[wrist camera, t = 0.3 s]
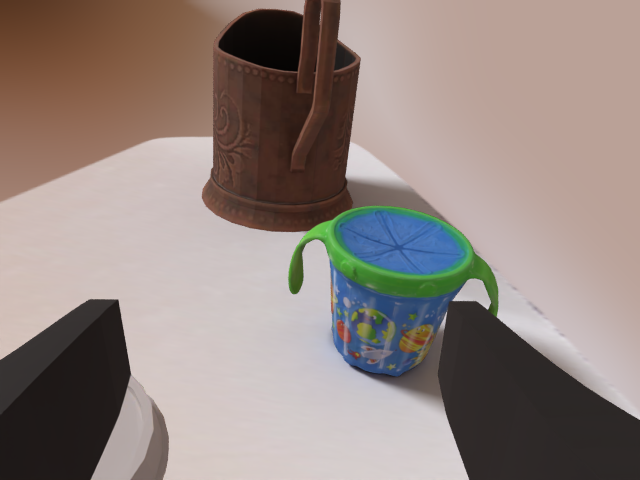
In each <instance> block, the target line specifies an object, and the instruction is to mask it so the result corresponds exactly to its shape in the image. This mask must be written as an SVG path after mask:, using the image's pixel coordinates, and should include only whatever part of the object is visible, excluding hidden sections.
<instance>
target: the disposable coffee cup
mask: <svg viewBox="0 0 640 480" xmlns="http://www.w3.org/2000/svg"><path fill="white" fill-rule="evenodd" d="M168 451H169V436H168V432H167V428H166V424H165V420H164V417H163V415H162V413H161V412H160V410H159V409H158V407H157V405H156V404H155V402H154V400H153V399H152V398H150V397H149V396H148V395H147V394H146V392H145V390H144V388H143V386H142V385H141V384H140V383H139V382H138V381H137V380H136V379H135V378H134V377H133V376H132V375H131V376H130V380H129V384H128V387H127V391H126V395H125V398H124V401H123V405H122V408H121V411H120V414H119V417H118V420H117V422H116V424H115V427H114V429H113V431H112V433H111V436H110V438H109V440H108V443H107V445H106V447H105V449H104V452H103V454H102V456H101V458H100V461H99V463H98V465H97V467H96V470H95V472H94V474H93V476H92V478H91V480H163V477H164V474H165V471H166V466H167V461H168Z"/></svg>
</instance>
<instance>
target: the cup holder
mask: <svg viewBox="0 0 640 480" xmlns="http://www.w3.org/2000/svg"><path fill="white" fill-rule="evenodd" d="M340 4H341V3H340V0H305V5H304V15H302V14H299V13H296V12H294V11H287V10H278V9H256V10H252V11H249V12H245V13H243V14H241V15H240V16H238V17H237V18H236V19H234V20H233V21H231V22H230V23H229V24H228V25H227V26H226V27H225V28H224V29H223V30H222V32H221V33H220V34H219V35H218V37H217V38H216V40H215V41H214V47H213V50H214V51H213V52H214V53H213V59H214V60H213V61H214V62H213V64H214V65H213V70H214V71H213V72H214V73H213V80H214V81H213V87H214V88H213V89H214V90H213V94H214V95H213V104H214V105H213V111H214V112H213V123H214V124H213V168H212V169H211V177H210V179H209V180H208V182H207V183H206V185H205V186H204V188H203V192H202V199H203V201H204V203H205V205H206V207H208V208H209V209H210V210H211V211H212V212H213V213H215V214H216V215H217V216H219V217H221V218H223V219H225V220H228V221H230V222H232V223H235V224H238V225H242V226H245V227H249V228H253V229H260V230H266V231H275V232H299V231H308V230H311V229H312V228H314V227H315V226H317V225H319V224H321V223H323V222H326V221H331V220H333V219H334V218H336V217H337V216H338V215H340V214H341V213H343V212H345V211H348V210H351V209H352V204H353V201H352V199H351V197H350V194H349V192H348V190H347V188H346V187H347V180H346V178H345V175H346V167H347V159H348V152H349V144H350V137H351V128H352V121H353V113H354V106H355V98H356V90H357V83H358V75H359V68H360V60H361V58H360V57H359V56H358V55H357V54H356V53H355V52H353V51H352V50H351V49H349V48H348V47H347V46H345V45H344V44H343V43H342V42H340V41H339V40H338V39H337V38H338V30H339V20H340ZM320 12H321V21H320ZM319 23H320V25H319Z"/></svg>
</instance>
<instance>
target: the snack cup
mask: <svg viewBox="0 0 640 480" xmlns="http://www.w3.org/2000/svg"><path fill="white" fill-rule="evenodd" d="M314 239H318V240H320V241H322V242H323V243H324V244H325V246H326V249H327V253H328V256H329V259H330V268H331V311H332V331H333V339H334V343H335V346H336V348H337V350H338V352H339V353H341V354H342V356H343V358H344V360H345V361H346V362H347V363H348V364H350V365H352V366H354V365H355V366H358V367H359V368H361V369H363V370H365V371H368V372H373V373H378V374H380V373H385V374H388V375H392V376H396V377H397V376H400V375H401V374H402V373H403V372H405V371H408V370H410V369H412V368H414V367H415V366H417V365H418V364H420V362H421V361H422V360H423V359H424V358H425V356H426V355H427V353H428V350H429V348H430V346H431V344H432V342H433V340H434V338H435V336H436V334H437V332H438V330H439V327H440V325H441V323H442V321H443V319H444V316H445V314H446V312H447V310H448V304H449V301H452V300H453V299H454V297H455V296H456V295H457V293H458V292H459V291H460V289H461V288H462V287H463V285H464V284H465V283H466V281H467V280H469V279H471V278H472V279H474V278H476V279H480V280H482V281H483V282H484V285H485V287H486V290H487V292H488V295H489V298H490V300H491V304H490V306H489V309H488V311H489V312H491V313H492V314H493V315H494V316H496V317H497V312H498V286H497V283H496V279H495V276H494V274H493V272H492V271H491V268H490V267H489V266H488V264H487V263H486V262H485V261H484V260H483V259H481V258H480V257H479V256H478V255H476V254H475V252H474V251H473V248H472V246H471V244H470V242H469V240H468V239H467V238H466V237H465V236H464V235H463V234H462V233H461V232H460V231H459V230H457V229H456V228H454V227H453V226H451V225H449V224H448V223H446V222H444V221H442V220H440V219H438V218H436V217H433V216H431V215H428V214H425V213H422V212H418V211H415V210H411V209H406V208H400V207H392V206H366V207H360V208H355V209H351V210H348V211H345V212H343V213H341V214H340V215H338V216H337V217H336V218H334V219H333V220H331V221H326V222H323V223H321V224H319V225H317V226H315V227H314V228H312V229H311V230H310V231H309V232H308V233H307V234H306V235H305V236H304V237H303V238H302V240H301V241H300V243H299V244H298V245H297V247H296V249H295V251H294V254H293V256H292V259H291V263H290V268H289V277H288V280H289V288H290V291H291V293H292V294H297V293H298V292H299V290H300V288H301V286H302V282H303V277H304V276H303V259H302V251H303V249H304V247H305V245H306V244H307V243H308V242H310V241H312V240H314Z"/></svg>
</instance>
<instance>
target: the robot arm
mask: <svg viewBox="0 0 640 480" xmlns="http://www.w3.org/2000/svg"><path fill="white" fill-rule="evenodd" d="M130 376H131V371H130V365H129V360H128V354H127V348H126V342H125V336H124V330H123V325H122V319H121V313H120V307H119V301H118V300H105V299H90V300H88V301H86V302H85V303H83V304H81V305H80V306H78V307H77V308H75V309H74V310H72V311H71V312H70V313H68V314H67V315H65V316H64V317H62V318H61V319H59V320H58V321H57V322H55V323H54V324H52V325H51V326H50V327H48V328H47V329H45V330H44V331H42V332H41V333H40V334H38V335H37V336H35V337H34V338H32V339H31V340H29V341H28V342H27V343H25V344H24V345H22V346H21V347H19V348H18V349H16V350H15V351H13V352H12V353H10V354H9V355H7V356H6V357H4V358H3V359H1V360H0V480H91V478H92V476H93V474H94V472H95V470H96V467H97V465H98V463H99V461H100V458H101V456H102V454H103V452H104V449H105V447H106V445H107V443H108V440H109V438H110V436H111V433H112V431H113V429H114V427H115V424H116V422H117V420H118V417H119V414H120V411H121V408H122V405H123V401H124V398H125V395H126V391H127V387H128V384H129V380H130ZM438 378H439V383H440V388H441V393H442V398H443V402H444V406H445V411H446V415H447V418H448V421H449V424H450V427H451V430H452V433H453V435H454V438H455V441H456V444H457V447H458V450H459V452H460V455H461V458H462V461H463V463H464V466H465V469H466V472H467V475H468V477H469V480H640V420H639V419H637V418H635V417H634V416H632V415H630V414H629V413H627V412H625V411H624V410H622V409H620V408H619V407H617V406H616V405H614V404H612V403H611V402H609V401H607V400H606V399H604V398H602V397H601V396H599V395H598V394H596V393H595V392H593V391H592V390H590V389H589V388H587V387H586V386H584V385H583V384H581V383H580V382H579V381H577V380H576V379H574V378H573V377H572V376H570V375H569V374H567V373H566V372H565V371H563V370H562V369H560V368H559V367H558V366H556V365H555V364H554V363H552V362H551V361H550V360H548V359H547V358H546V357H544V356H543V355H542V354H541V353H539V352H538V351H537V350H536V349H534V348H533V347H532V346H531V345H529V344H528V343H527V342H526V341H524V340H523V339H522V338H521V337H519V336H518V335H517V334H516V333H515V332H513V331H512V330H511V329H510V328H509V327H507V326H506V325H505V324H504V323H503V322H501V321H500V320H499V319H498V318H497V317H496V316H494V315H493V314H492V313H491V312H489V311H488V310H487V309H486V308H485V307H483V306H482V305H481V304H479V303H478V302H477V301H449V304H448V311H447V317H446V324H445V330H444V337H443V344H442V350H441V357H440V363H439V370H438Z"/></svg>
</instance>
